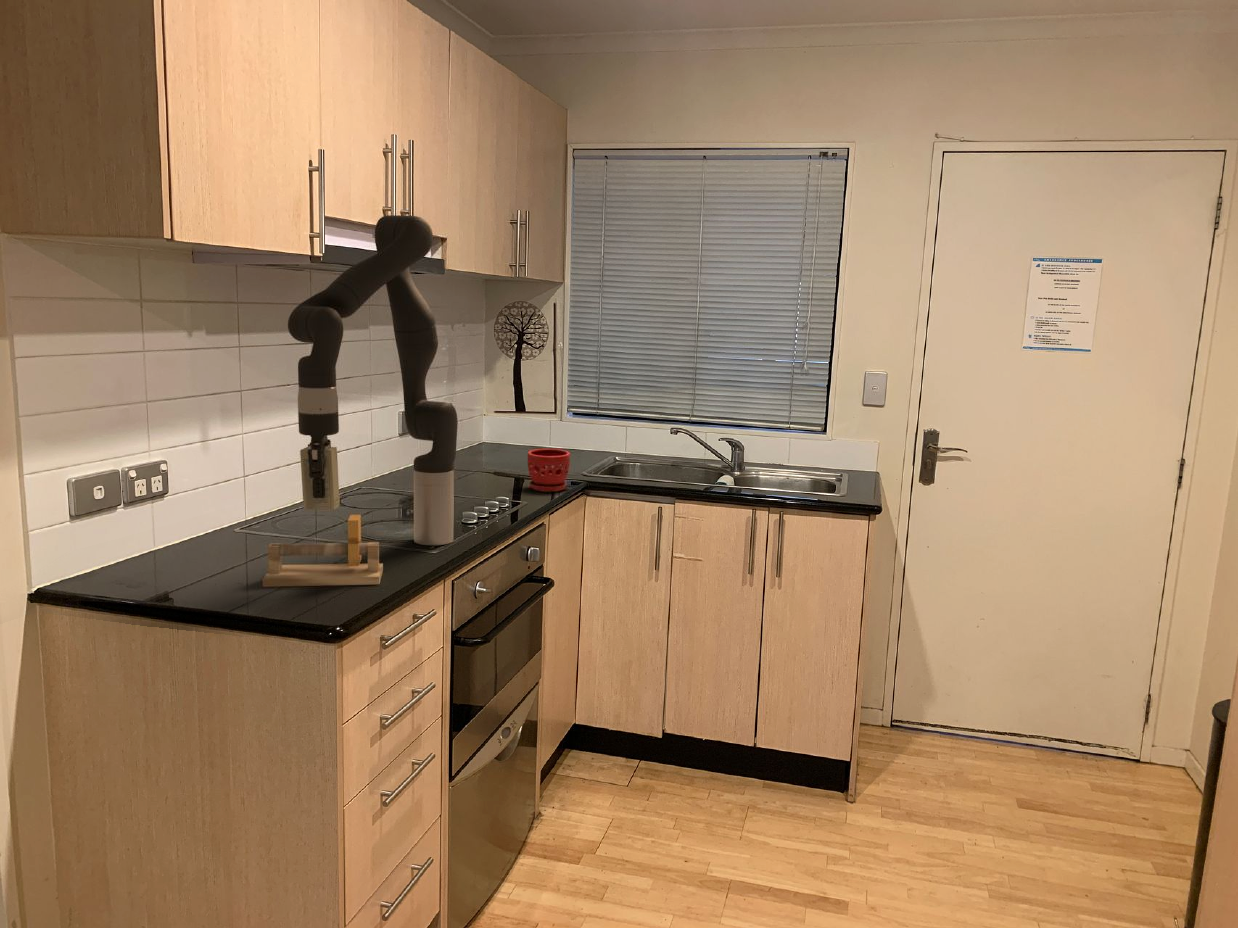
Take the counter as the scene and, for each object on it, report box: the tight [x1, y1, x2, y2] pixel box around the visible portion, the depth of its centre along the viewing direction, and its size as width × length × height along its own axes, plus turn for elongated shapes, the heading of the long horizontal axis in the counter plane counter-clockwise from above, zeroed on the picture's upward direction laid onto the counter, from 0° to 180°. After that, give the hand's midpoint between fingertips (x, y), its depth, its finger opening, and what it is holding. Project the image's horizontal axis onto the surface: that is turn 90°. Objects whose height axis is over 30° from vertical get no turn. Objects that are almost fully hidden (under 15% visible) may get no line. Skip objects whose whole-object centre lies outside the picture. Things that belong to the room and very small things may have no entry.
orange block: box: [347, 514, 362, 566], centre depth 183 cm, size 6×2×9 cm, turn 10°
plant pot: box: [527, 448, 571, 493], centre depth 282 cm, size 13×13×12 cm
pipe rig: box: [262, 541, 384, 588], centre depth 183 cm, size 10×22×9 cm, turn 100°
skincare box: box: [299, 446, 341, 511], centre depth 180 cm, size 6×4×12 cm
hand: (321, 494), depth 181 cm, fingers closed on skincare box, 4 cm apart
